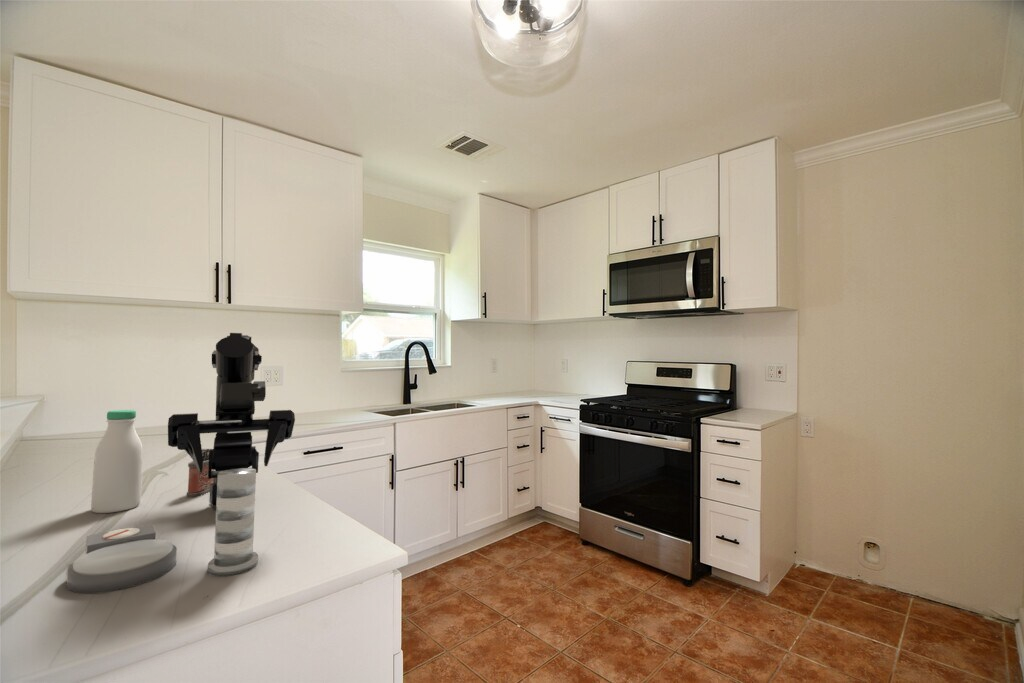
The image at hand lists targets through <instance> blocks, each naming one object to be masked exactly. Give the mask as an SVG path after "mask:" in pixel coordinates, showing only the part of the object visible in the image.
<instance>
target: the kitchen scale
mask: <svg viewBox="0 0 1024 683" xmlns="http://www.w3.org/2000/svg"><path fill="white" fill-rule="evenodd" d="M156 535H157V533H156V530H155V527H154V525H153V524H152V523H151V524H150V523H149V524H146V525H145V524H144V525H140V526H139V525H138V526H135V527H127V528H121V529H120V528H119V529H115V530H112V531H107V532H101V533H97V534H96V533H95V534H91V535H86V544H85V554H83V555H81V556H80V557H79V558H77V559H75V561H74V562H73V563H72V564H71V565H69V567H68V569H67V572H66V573H67V576H66V588H67V589H68V590H69V591H71V592H74V593H79V594H99V593H107V592H113V591H118V590H119V591H120V590H123V589H128V588H132V587H135V586H140V585H142V584H144V583H148V582H150V581H153V580H155V579H157V578H160V577H162V576H163V575H165V574H167V573H169V572H170V571H171V570H172V569H174V567H175V566H176V565H177V553H178V552H177V550H178V548H177V546H176V545H174V544H173V543H172V542H171V541H169V540H165V539H156Z"/></svg>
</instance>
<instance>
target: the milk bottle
mask: <svg viewBox="0 0 1024 683" xmlns="http://www.w3.org/2000/svg"><path fill="white" fill-rule="evenodd" d="M136 417H137V412H136V410H135V409H118V410H116V409H115V410H108V411H107V412H106V419H107V420H106V422H107V427H106V430H105V431H104V434H103V436H102V437H101V439H100V441H99V443H97V444H98V445H97V447H96V450H95V453H94V462H93V471H92V472H93V473H92V488H91V490H92V491H91V505H90V506H91V508H90V510H91V511H92V512H93V513H96V514H108V513H117V512H122V511H127V510H128V511H129V510H130V509H134V508H136V507H138V506H139V505H140V504H141V499H142V485H143V484H142V481H143V464H144V463H143V462H144V461H143V458H144V453H143V452H144V450H143V443H142V440H141V439H140V436H139V435H138V433H137V431H136V427H135V421H136Z"/></svg>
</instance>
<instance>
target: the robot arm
mask: <svg viewBox="0 0 1024 683" xmlns="http://www.w3.org/2000/svg"><path fill="white" fill-rule="evenodd" d="M259 351H260V350H259V348H258V347H257V346H256V345H255V344H254V343H253V342H252V336H249V335H248V334H243V333H242V332H230V333H229V335H226V337H222V338H221V339H220V340H218V341H217V343H216V344H215V350H213V351H212V353H211V366H212V368H213V369H215V370H216V374H217V376H216V387H215V388H216V390H215V392H216V393H215V396H216V397H215V419H210V420H206V419H205V420H198V419H199V418H198V417H199V413H197V412H196V413H195V412H194V413H172V415H171V416H169V418H168V420H167V440H168V441H167V446H168V447H169V446H170V447H172V448H173V447H174V448H175V447H176V448H177V449H178V450H179V451H183V450H184V452H186V453H187V455H189V457H190V458H191V459H192V461H194V463H195V465H196V467H197V469H198V471H199V473H202V472H203V456H202V449H203V448H202V443H201V442H202V441H201V434H215V437H214V440H213V448H209V449H210V451H209V471H208V479H211V478H214V480H213V483H211V484H210V492H209V500H208V502H209V503H210V504H209V505H211V506H212V507H213V508H214V509H215V510H216V502H217V479H218V473H219V472H222V471H225V470H230V469H238V468H252V469H256V474H258V472H259V458H260V452H259V451H258V450H257V446H255V445H254V446H253V435H252V433H253V432H254V433H255V432H267V434H266V440H265V449H264V456H263V457H264V458H263V464H264V467H268V466H269V463H270V460H271V457H272V454H273V451H274V450H275V448H276V447H277V445H278V444H279V443H280V444H281V443H283V442H285V440H288V439H290V438H292V435H293V430H294V426H295V422H296V421H295V420H296V417H295V416H296V415H295V412H294V411H293V410H291V409H281V410H280V409H277V410H274V409H273V410H270V411H269V415H268V418H258V419H257V418H256V419H254V415H255V410H256V409H255V408H256V407H255V406H256V405H255V402H264V401H265V399H266V388H267V387H266V381H260V380H258V381H253V380H255V371H259V370H258V369H259V365H260V364H262V359H263V356H262V355H261V354H260V352H259ZM213 469H214V470H215V471H213Z"/></svg>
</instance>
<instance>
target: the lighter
mask: <svg viewBox="0 0 1024 683" xmlns="http://www.w3.org/2000/svg"><path fill="white" fill-rule="evenodd" d="M210 449H211V448H202V456H203V472H202V473H199V471H198V469H197V467H196V465H195V463H194V461H193V460H192V461H190V462H188V463H187V467H188V481H187V482H188V483H187V484H188V485H187V492H186V498H188V499H190V498H191V499H193V498H198V497H201V495H202V496H205V495H206V493H207V494H209V493H210V484H211V483H213V480H214V478H211V479H208V471H209V451H210ZM213 471H215V470H214V469H213ZM208 492H209V493H208ZM204 494H205V495H204Z"/></svg>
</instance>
